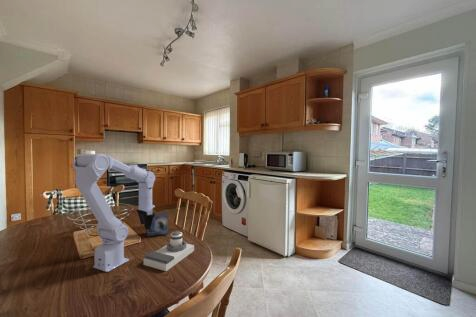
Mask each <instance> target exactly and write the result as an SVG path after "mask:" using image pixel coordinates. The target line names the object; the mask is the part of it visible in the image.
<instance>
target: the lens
mask: <svg viewBox="0 0 476 317" xmlns="http://www.w3.org/2000/svg"><path fill="white" fill-rule="evenodd" d="M183 236H184V234H183V232H181V231H172V232H171V233H170V234H169V242H170V247H181V246H182V240H183Z"/></svg>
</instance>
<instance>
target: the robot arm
mask: <svg viewBox="0 0 476 317" xmlns="http://www.w3.org/2000/svg"><path fill="white" fill-rule="evenodd" d="M72 167H73V168H74V175H75V176H74V180H75V182H74V183H75V187H76V188H77V189H78V192H79V193H80V195H81V196H82V197H83V200H84V201H85V202H86V204H87V206H88V208H89V209H90V211H91V213H92V214H93V216H94V217H95V219H96V221H97V222H98V223H97V224H96V228H97V235H98V237H99V238H100V239H101V244H99V246H97V247H96V248H95V250H94V252H93V253H94V255H93V256H94V265H93V266H92V268H94V269H97V270H100V271H103V272H105V273H108V272H110V271H112V270H114V269H116V268H117V267H120V266H121V265H123V264H125V263H127V262H128V261H130V259H129V258H127V257H125V241H126V238H127V237H128V235H129V227H128V226H127V225H126V224H123V222H122V220H120V219H119V218H117V217H116V216H115V215H114V212H113V211H112V210H113V209H112V208H111V207H110V205H109V203H108V202H107V200H106V197H105V196H104V194H103V193H102V191H101V189H100V187H99V186H98V183H97V182H98V181H99V179H101V177H102V176H103V175H104V173H106V171H107V170H114V171H117V172H120V173H123V174H124V176H125V177H126V178H127V179H131V180H133V181H135V182H136V183H138V209H136V212H137V214H138V218H139V223H140V225H141V226H142V225H144V230H145V231H146V230H147V229H150V228H151V224H152V220H153V218H154V216H155V213H156V212H153V209H155V208H156V206H155V205H154V204H153V187H154V183H155V181H156V176H155V174H154V172H153V171H151V170H150V171H149V170H146V169H145V168H143V167H142V168H141V167H139V165H138V164H136V163H134V164H125V163H124V162H121V161H119V160H118V159H115V158H114V157H113V156H110V155H105V154H103V153H85V152H84V153H83V152H82V153H80V154H79V155H78V156H77V157H76V158H75V160H74V162H73V163H72Z"/></svg>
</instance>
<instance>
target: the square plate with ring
mask: <svg viewBox="0 0 476 317" xmlns="http://www.w3.org/2000/svg"><path fill="white" fill-rule="evenodd" d="M194 251H195V245H194V244H191V243H188V242H186V241H185V240H183V239H182V246H181V247H170V241H169V242H167V244H166V245H164V246H163V247H161V248H159V249H158V250H155V251H154V250H152V251H150V252H148V253H147V254H145V255H144V258H143V266H147V267H151V268H153V269H158V270H160V271H164V272H167V271H169V270H170V269H171V268H172V267H174V266H175V265H177V264H179V262H181V261H182V260H184V259H185V258H186V257H188V256H189V255H191V254H192V253H193V252H194Z"/></svg>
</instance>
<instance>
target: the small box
mask: <svg viewBox="0 0 476 317" xmlns="http://www.w3.org/2000/svg"><path fill="white" fill-rule="evenodd" d="M154 213H155V216H154V218H153V220H152V224H151V228H150V229H147V230H145V231H146V232H145V233H146V235H145V236H146V237H147V238H148V237H159V236H161V237H162V236H168V233H169V212H154Z"/></svg>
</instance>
